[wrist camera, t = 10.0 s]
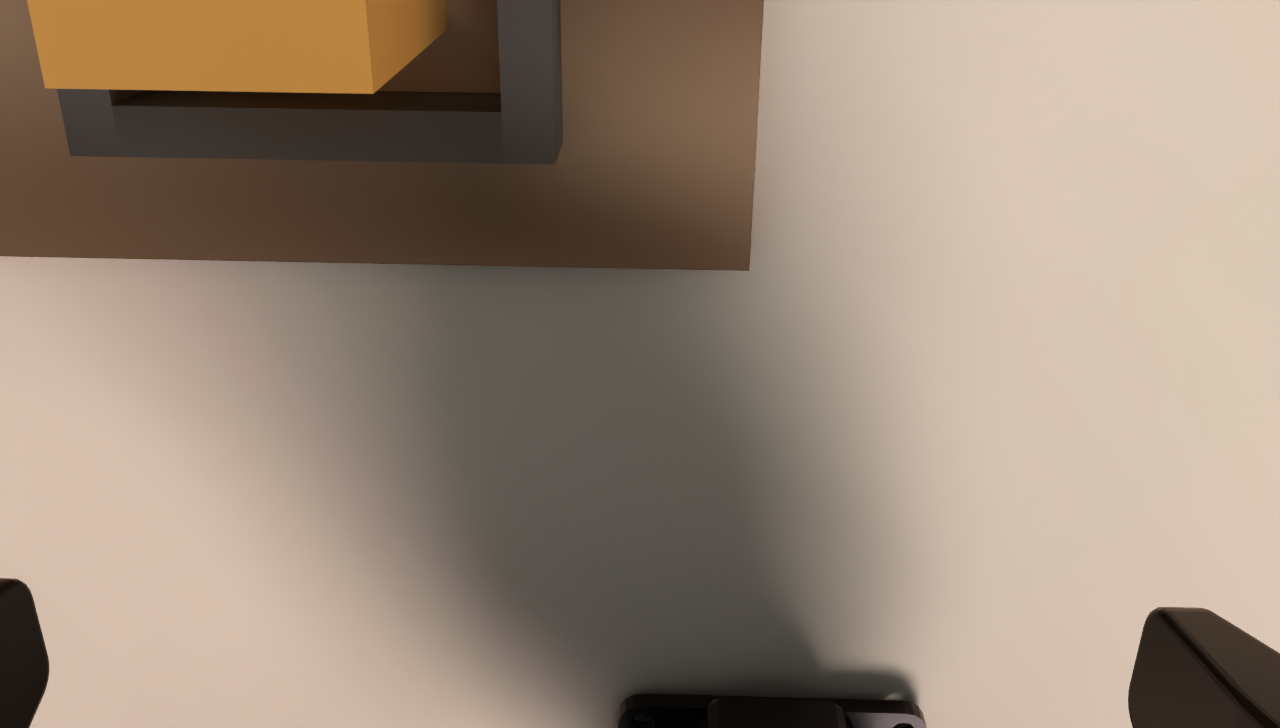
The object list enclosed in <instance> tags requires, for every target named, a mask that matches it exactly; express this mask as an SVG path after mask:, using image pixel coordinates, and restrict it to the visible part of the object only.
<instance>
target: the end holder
mask: <svg viewBox="0 0 1280 728" xmlns="http://www.w3.org/2000/svg"><path fill="white" fill-rule="evenodd" d="M763 3H764V0H446V5H447V22H448V29H447V30H446V31H445V32H444V33H442V34H441V35H440V36H439V37H438V38H437V39H436V40H434V41H433V42H432V43H431V44H430V45H429V46H428V47H426V48H425V49H424V50H423V51H422V52H421V53H420V54H418V55H417V56H416V57H415V58H414V59H413V60H412V61H410V62H409V63H408V64H407V65H406V66H405V67H404V68H402V69H401V70H400V71H399V72H398V73H397V74H396V75H394V76H393V77H392V78H391V79H390V80H389V81H388V82H386V83H385V84H384V85H383V86H382V87H381V88H380V89H378V90H377V91H376V92H375V93H374V94H351V93H291V92H231V91H171V90H111V89H51V88H45V85H44V81H43V76H42V71H41V66H40V61H39V56H38V51H37V47H36V42H35V37H34V32H33V27H32V22H31V17H30V12H29V8H28V3H27V0H0V256H20V257H71V258H122V259H174V260H225V261H277V262H328V263H380V264H431V265H482V266H534V267H585V268H637V269H688V270H740V271H749V265H750V246H751V228H752V209H753V190H754V172H755V153H756V134H757V116H758V97H759V78H760V59H761V41H762V22H763Z"/></svg>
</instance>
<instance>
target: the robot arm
mask: <svg viewBox="0 0 1280 728" xmlns="http://www.w3.org/2000/svg"><path fill="white" fill-rule="evenodd" d="M48 676H49V660H48V655H47V651H46V647H45V643H44V639H43V635H42V631H41V628H40V624H39V620H38V616H37V612H36V608H35V604H34V600H33V597H32V594H31V591H30V589H29V588H28V587H27V585H26V584H25V583H23V582H22V581H20V580H18V579H7V578H0V728H29V727H30V725H31V722H32V720H33V718H34V715H35V713H36V711H37V709H38V706H39V704H40V702H41V699H42V697H43V695H44V692H45V689H46V686H47V682H48ZM1128 705H1129V713H1130V719H1131V723H1132V726H1133V728H1280V653H1278V652H1277V651H1275V650H1273V649H1272V648H1270V647H1268V646H1267V645H1265V644H1264V643H1262V642H1260V641H1259V640H1257V639H1256V638H1254V637H1252V636H1251V635H1249V634H1247V633H1246V632H1244V631H1243V630H1241V629H1239V628H1238V627H1236V626H1234V625H1233V624H1231V623H1230V622H1228V621H1226V620H1225V619H1223V618H1222V617H1220V616H1218V615H1217V614H1215V613H1213V612H1212V611H1210V610H1207V609H1203V608H1184V607H1158V608H1156V609H1155V610H1153V611H1151V612H1150V614H1149V615H1148V617H1147V619H1146V621H1145V624H1144V627H1143V632H1142V636H1141V640H1140V644H1139V648H1138V653H1137V657H1136V661H1135V665H1134V669H1133V674H1132V678H1131V682H1130V687H1129V695H1128ZM636 716H646V717H649V718H650V719H649V720H647V721H639V720H636V719H635V717H636ZM900 723H908V724H909V725H907V726H906V727H903V728H926V723H925V720H924V716H923V713H922V711H921V710H920V708H919V707H918V706H917V705H915V704H913V703H911V702H907V701H897V700H861V699H824V698H787V697H750V696H714V695H677V694H635V695H632V696H630V697H628V698H626V699H625V700H624V701H623V703H622V704H621V706H620V710H619V721H618V728H895V727H894V726H896V725H897V724H900Z"/></svg>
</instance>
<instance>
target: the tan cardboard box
mask: <svg viewBox="0 0 1280 728" xmlns="http://www.w3.org/2000/svg"><path fill="white" fill-rule="evenodd" d="M27 3H28V8H29V12H30V17H31V22H32V27H33V32H34V37H35V42H36V47H37V51H38V56H39V61H40V66H41V71H42V76H43V81H44V85H45V88H51V89H111V90H171V91H231V92H291V93H351V94H374V93H375V92H376V91H377V90H378V89H380V88H381V87H382V86H383V85H384V84H385V83H386V82H388V81H389V80H390V79H391V78H392V77H393V76H394V75H396V74H397V73H398V72H399V71H400V70H401V69H402V68H404V67H405V66H406V65H407V64H408V63H409V62H410V61H412V60H413V59H414V58H415V57H416V56H417V55H418V54H420V53H421V52H422V51H423V50H424V49H425V48H426V47H428V46H429V45H430V44H431V43H432V42H433V41H434V40H436V39H437V38H438V37H439V36H440V35H441V34H442V33H444V32H445V31H446V30H447V29H448V22H447V5H446V0H27Z"/></svg>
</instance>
